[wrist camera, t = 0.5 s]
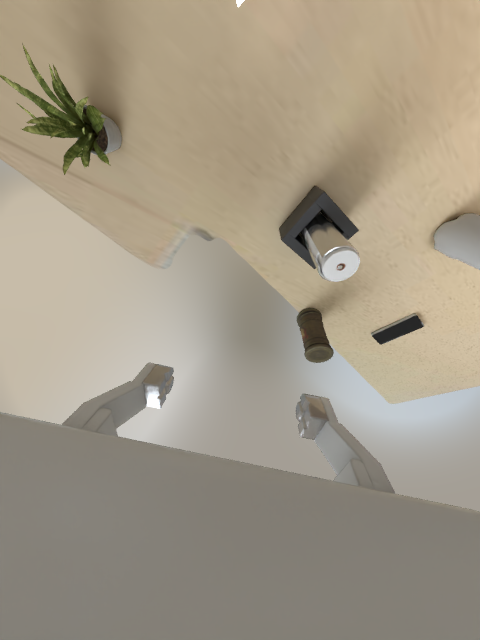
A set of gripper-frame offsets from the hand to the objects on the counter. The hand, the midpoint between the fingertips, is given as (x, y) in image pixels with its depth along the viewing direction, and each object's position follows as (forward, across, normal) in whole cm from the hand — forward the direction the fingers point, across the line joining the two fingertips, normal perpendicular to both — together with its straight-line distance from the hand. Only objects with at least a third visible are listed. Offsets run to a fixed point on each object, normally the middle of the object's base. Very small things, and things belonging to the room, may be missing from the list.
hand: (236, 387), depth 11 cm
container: (+57, -24, +18) cm, 65 cm away
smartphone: (+59, -58, +17) cm, 84 cm away
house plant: (+43, +36, -23) cm, 61 cm away
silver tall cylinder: (+49, -13, -12) cm, 52 cm away
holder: (+48, -13, -12) cm, 52 cm away
